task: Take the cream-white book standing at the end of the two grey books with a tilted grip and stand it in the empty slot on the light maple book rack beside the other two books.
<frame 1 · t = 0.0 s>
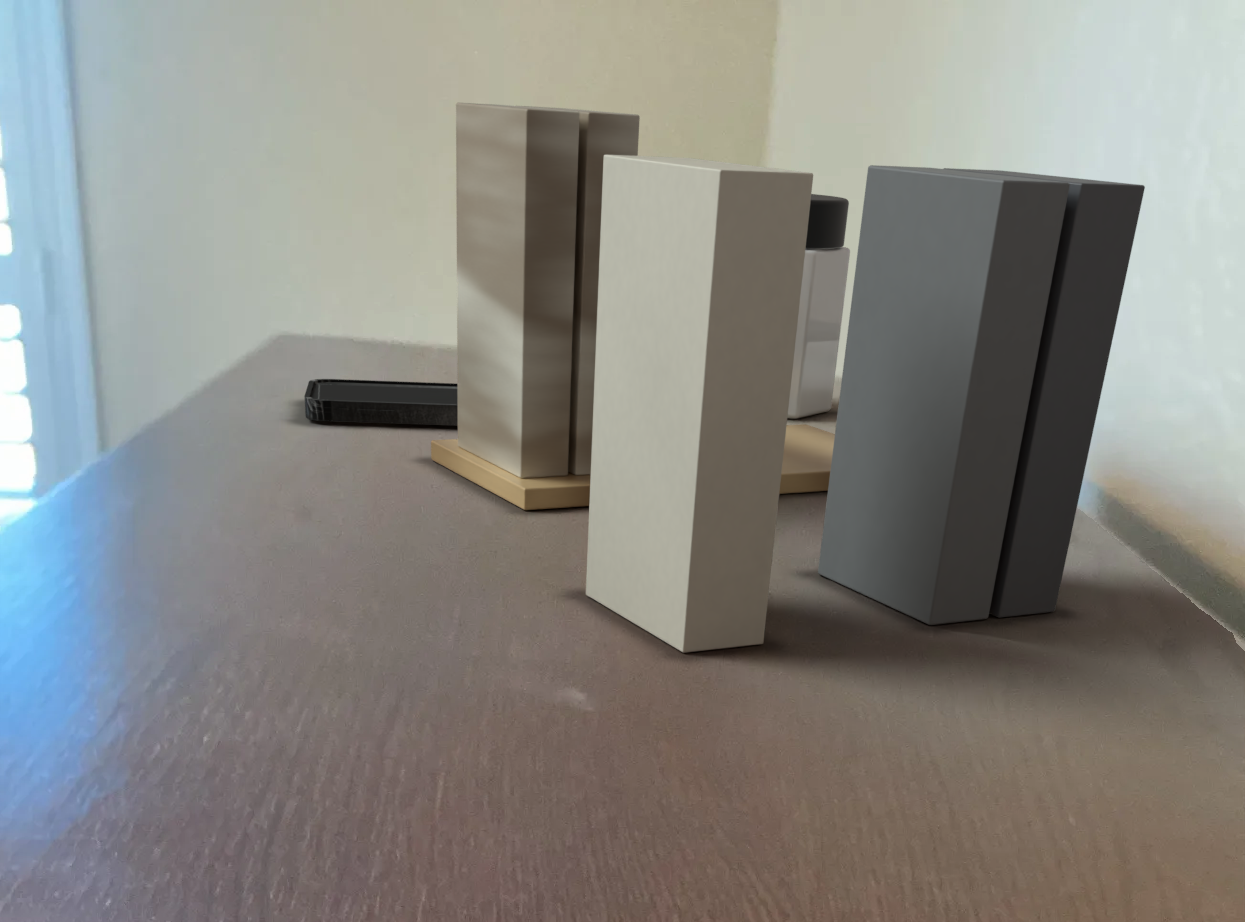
phone: (433, 417, 92), on the table
book rack: (679, 472, 82), on the table
jar: (762, 410, 101), on the table
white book: (671, 619, 59), on the table
grey books: (933, 592, 64), on the table
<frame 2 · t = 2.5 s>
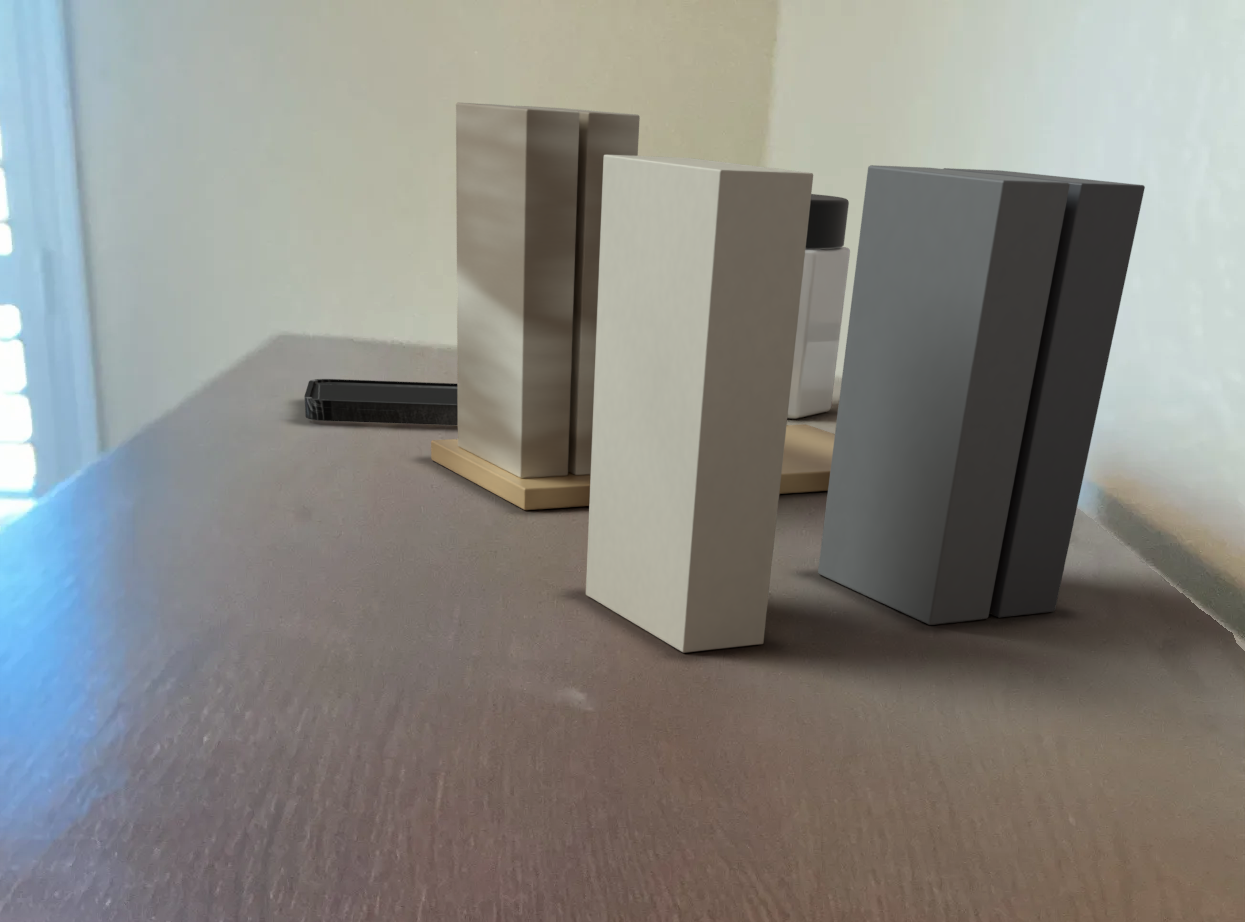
nothing on the table moved.
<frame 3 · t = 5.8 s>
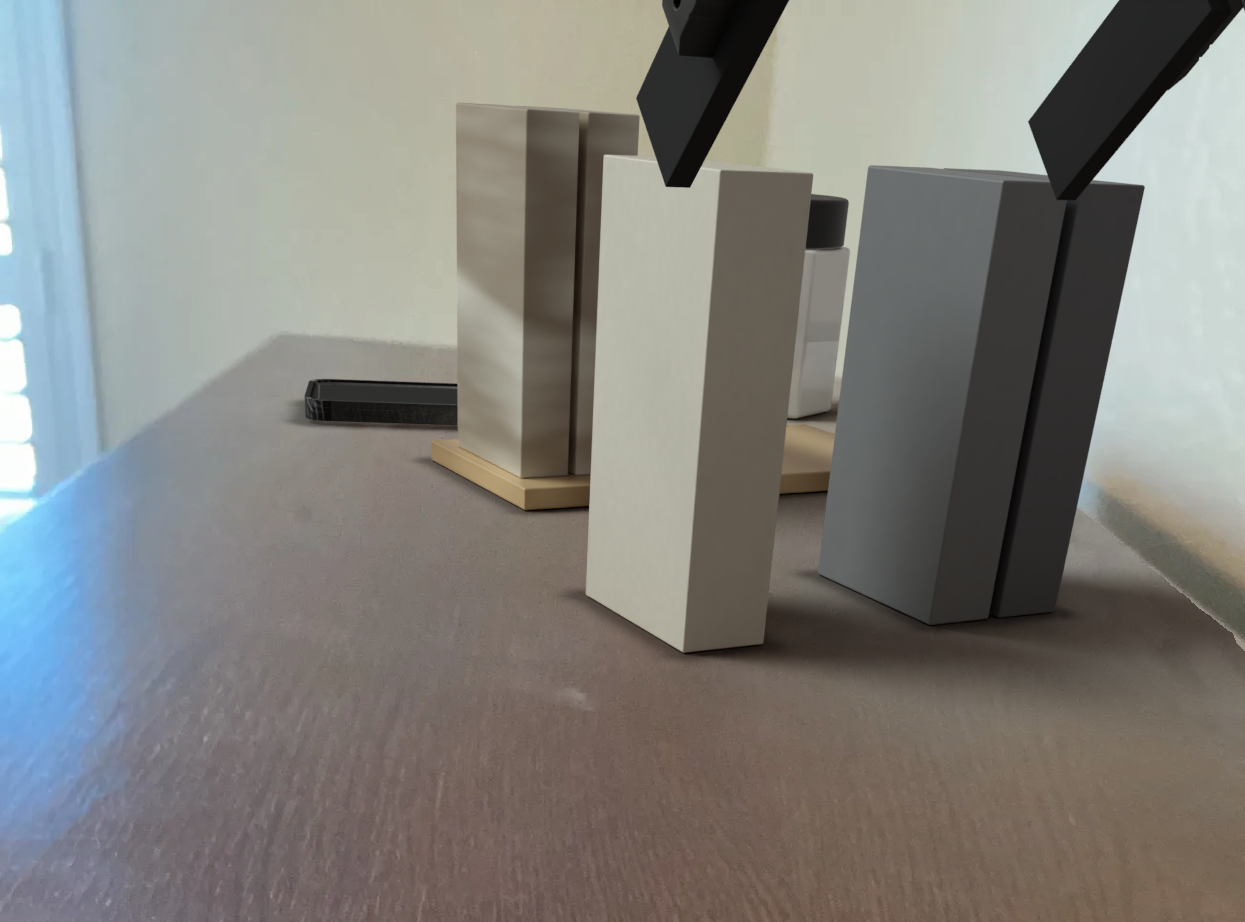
hand: (868, 154, 44), 16 cm above the table, tool tilted 45°, fingers open, 13 cm apart
nothing on the table moved.
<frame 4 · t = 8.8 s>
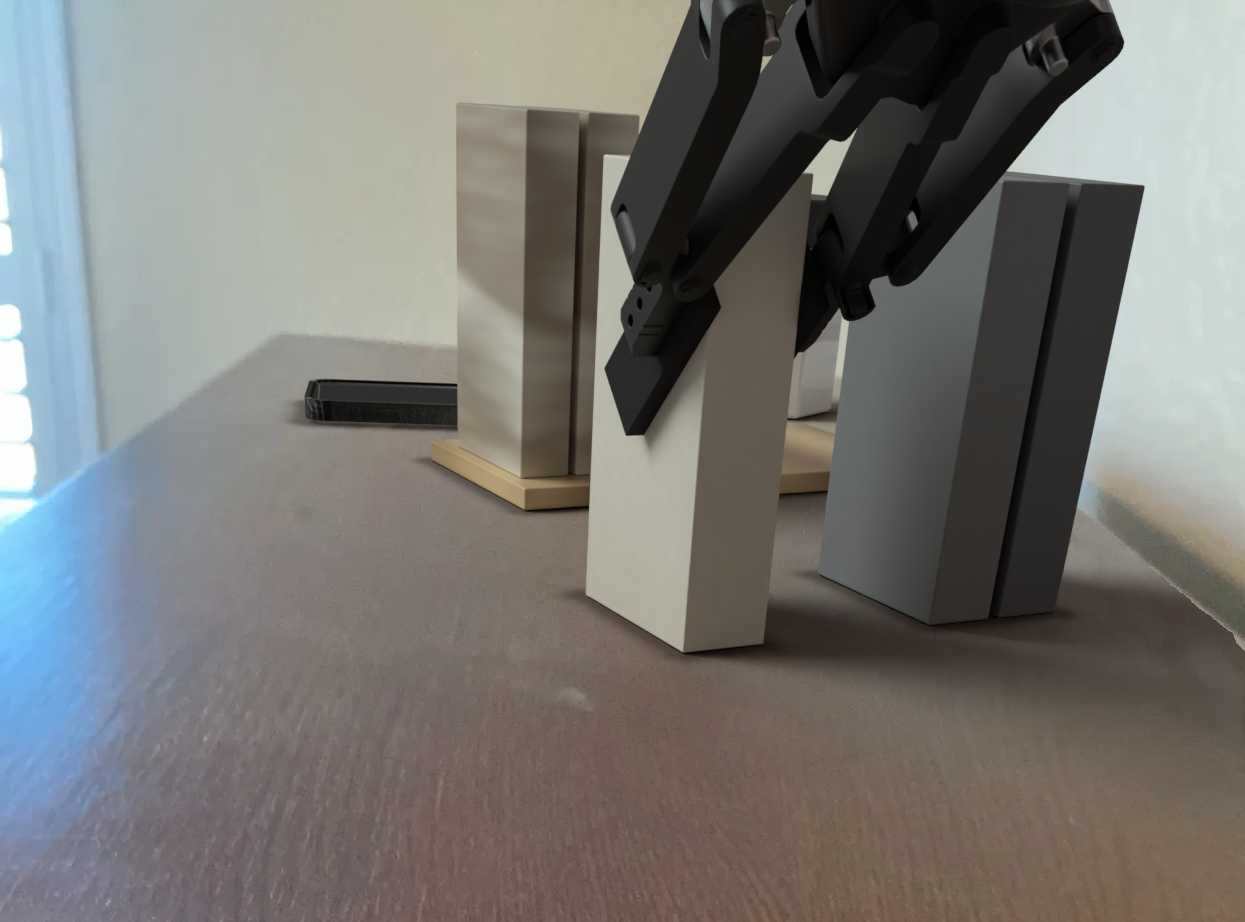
hand: (675, 399, 56), 8 cm above the table, tool tilted 45°, fingers closed on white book, 3 cm apart
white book: (671, 619, 59), on the table, touching gripper
everything else where it was.
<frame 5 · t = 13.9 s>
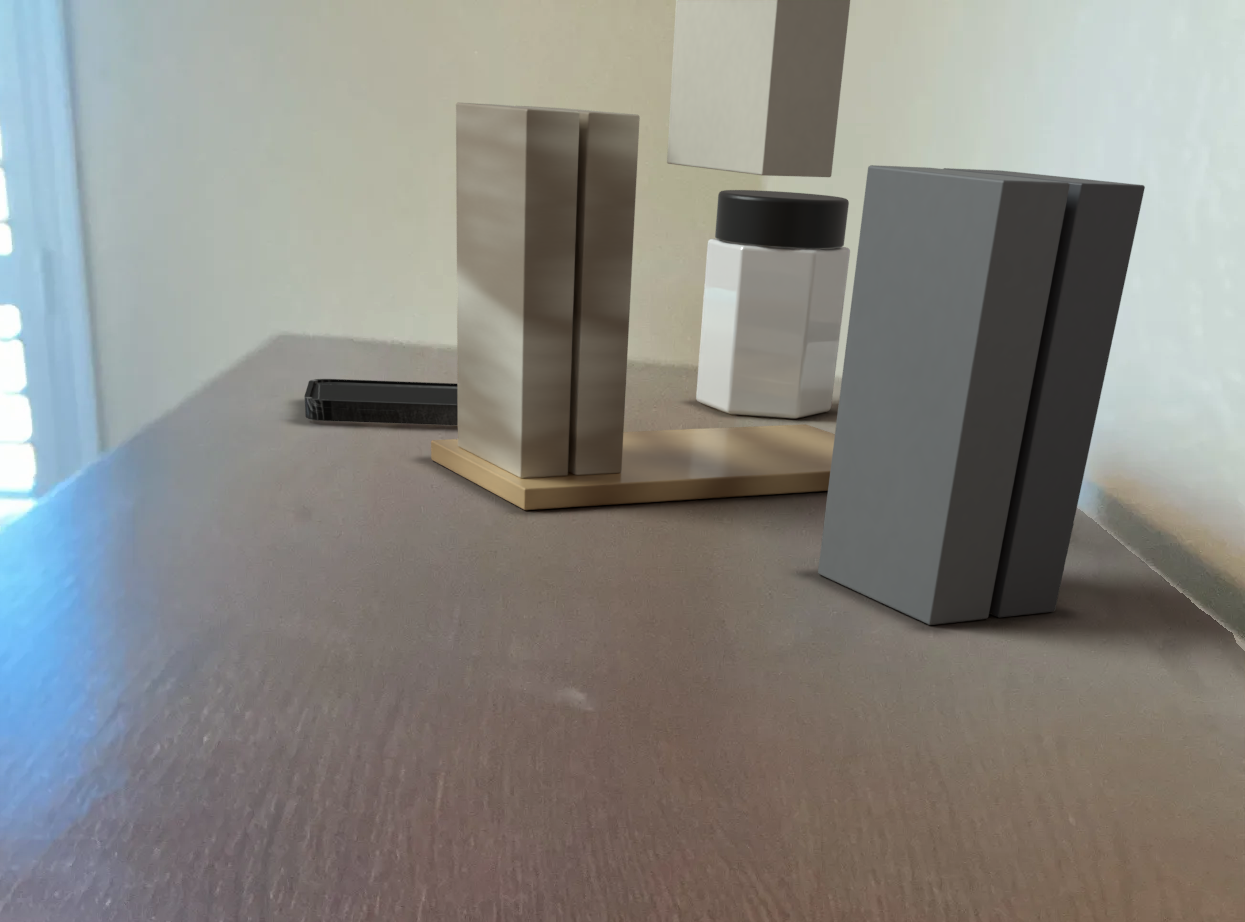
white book: (746, 170, 66), point 14 cm above the table, touching gripper
everything else where it was.
when the fingers open (9 cm above the table, at t = 19.1 s): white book stays where it is, resting on book rack.
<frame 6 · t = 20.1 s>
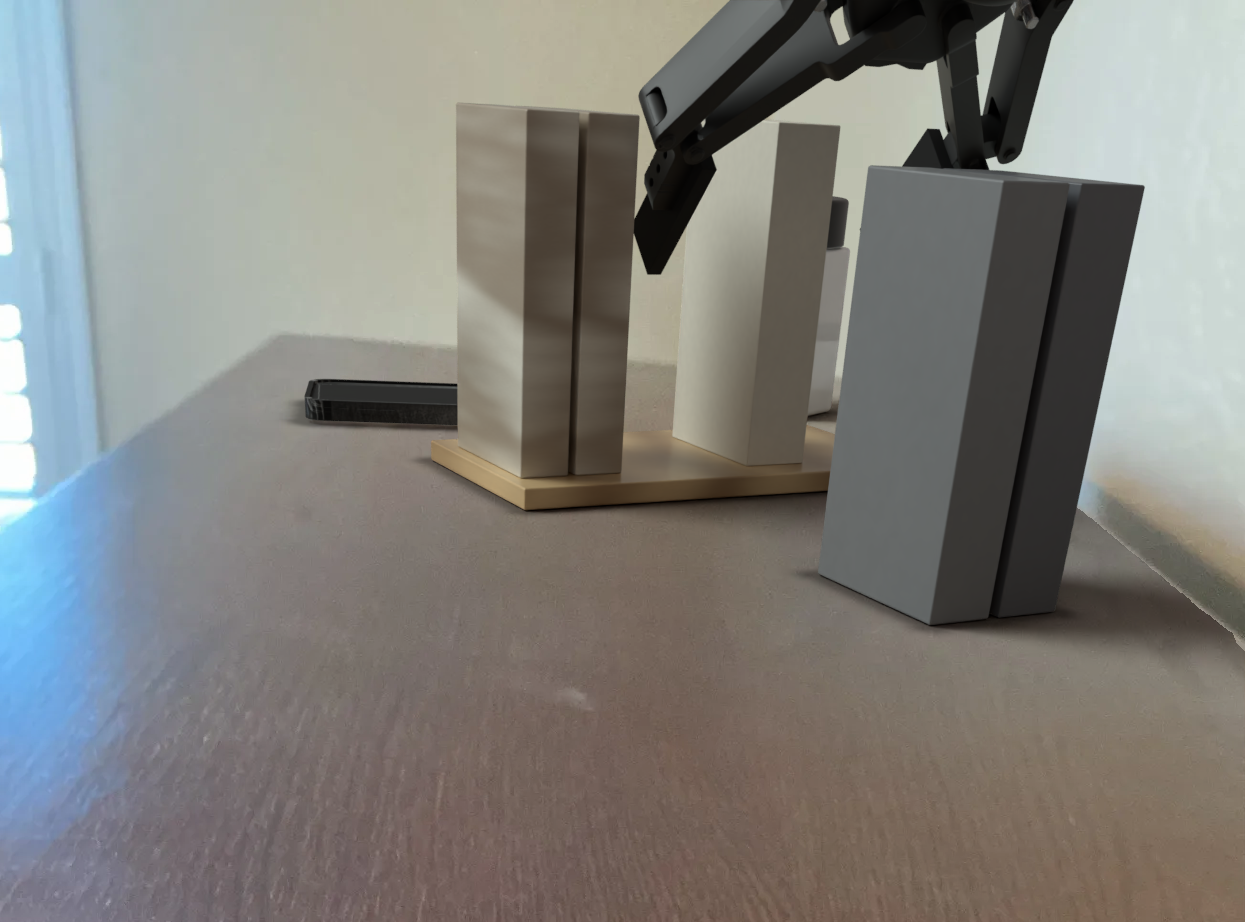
hand: (763, 252, 77), 10 cm above the table, tool tilted 45°, fingers open, 13 cm apart
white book: (735, 450, 83), point 1 cm above the table, touching book rack
everything else where it was.
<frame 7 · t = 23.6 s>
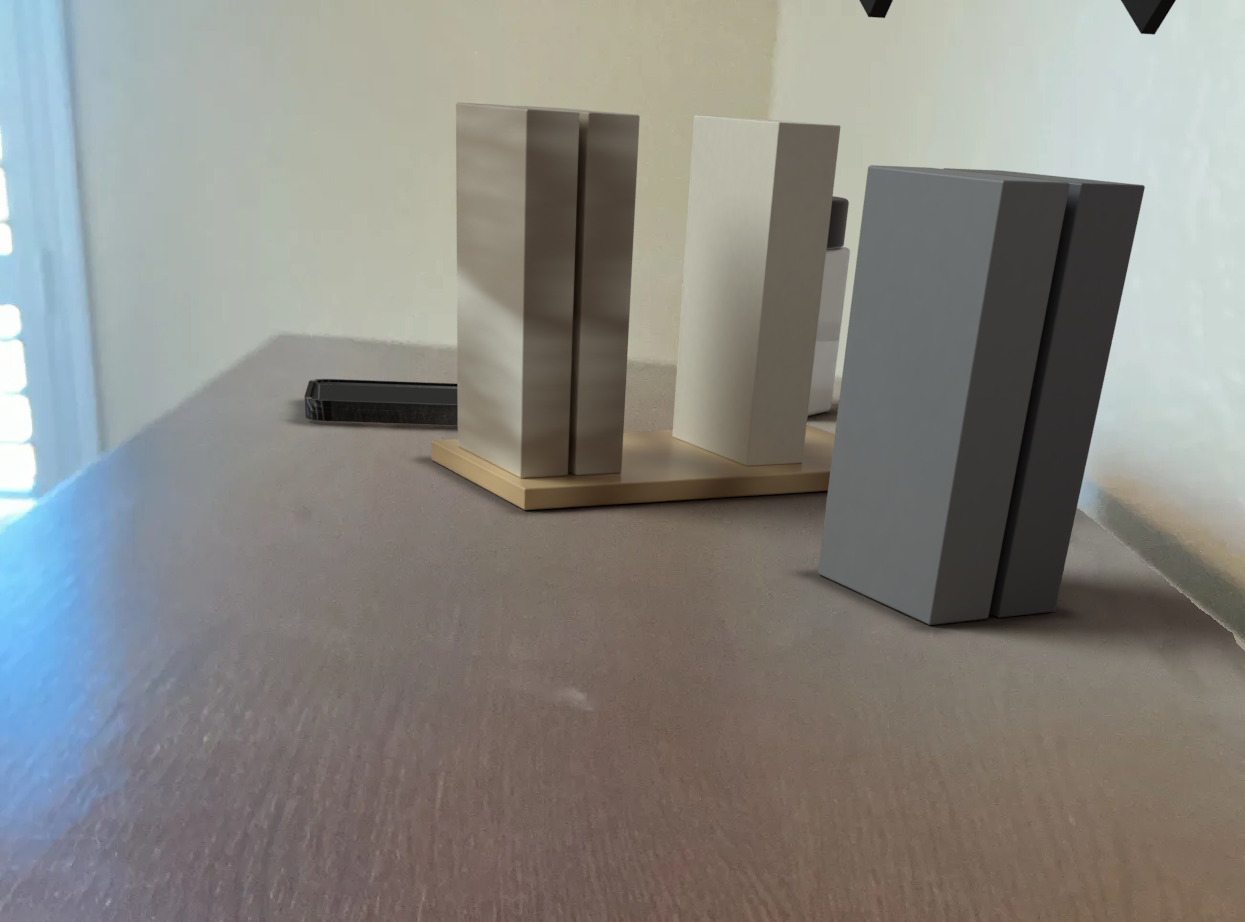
hand: (1003, 3, 60), 20 cm above the table, tool tilted 35°, fingers open, 13 cm apart
nothing on the table moved.
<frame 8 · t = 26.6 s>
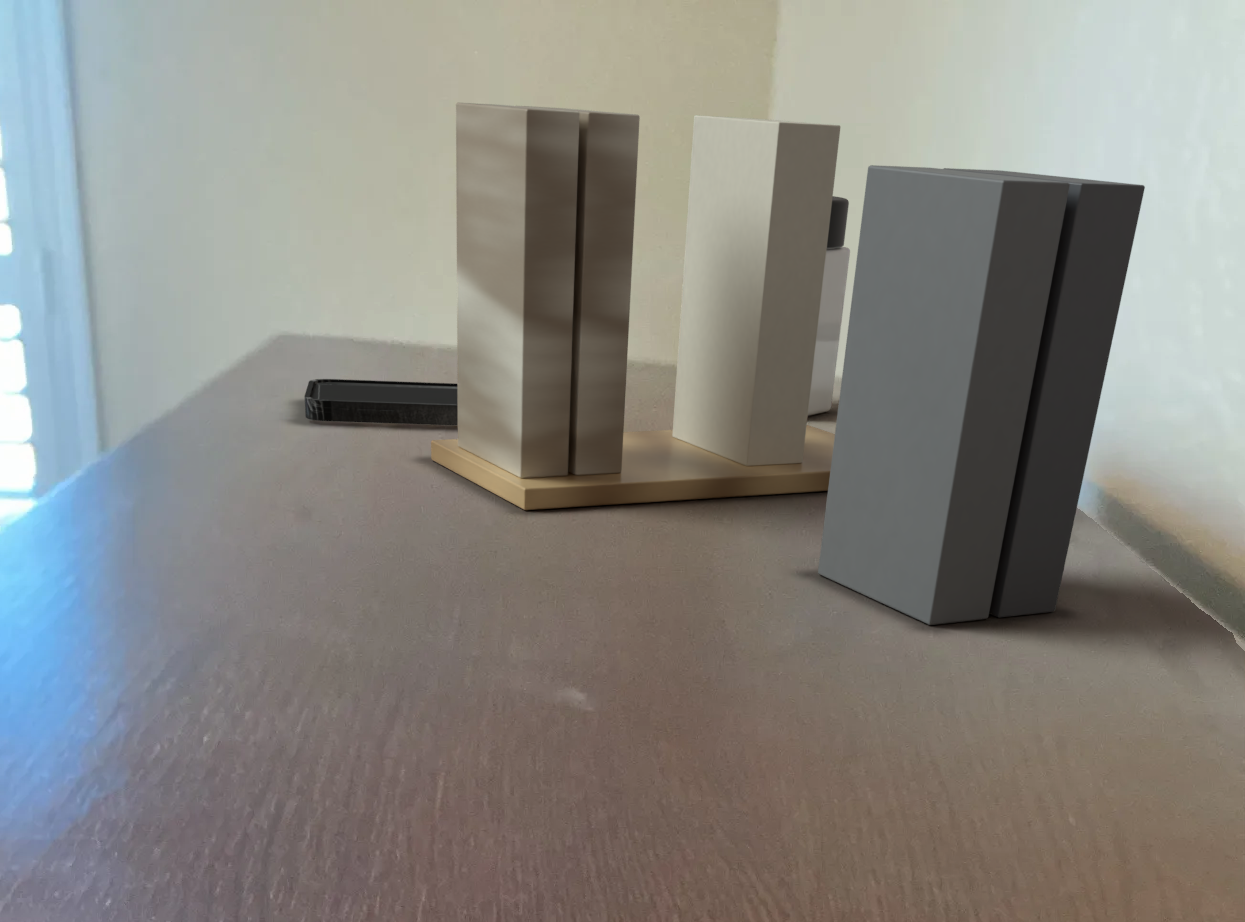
nothing on the table moved.
at the end: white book inside the target area on the book rack (0.1 cm from its centre), point 1.0 cm above the book rack's base; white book tilted 0°; the gripper is holding nothing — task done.
